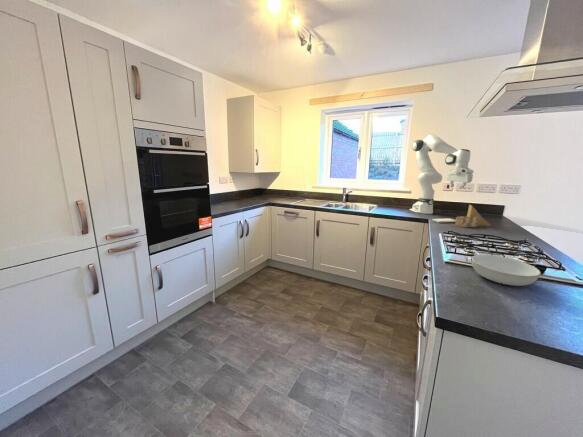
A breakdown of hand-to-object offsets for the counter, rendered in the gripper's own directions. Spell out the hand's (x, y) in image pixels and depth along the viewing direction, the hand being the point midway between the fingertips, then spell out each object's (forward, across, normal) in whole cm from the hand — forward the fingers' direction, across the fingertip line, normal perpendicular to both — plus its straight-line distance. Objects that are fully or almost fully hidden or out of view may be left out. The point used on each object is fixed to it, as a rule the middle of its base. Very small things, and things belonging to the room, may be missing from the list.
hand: (457, 187), depth 193 cm
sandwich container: (+29, +11, +16) cm, 35 cm away
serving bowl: (+27, +93, -69) cm, 119 cm away
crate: (+28, +16, -1) cm, 32 cm away
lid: (+28, +2, -8) cm, 29 cm away
